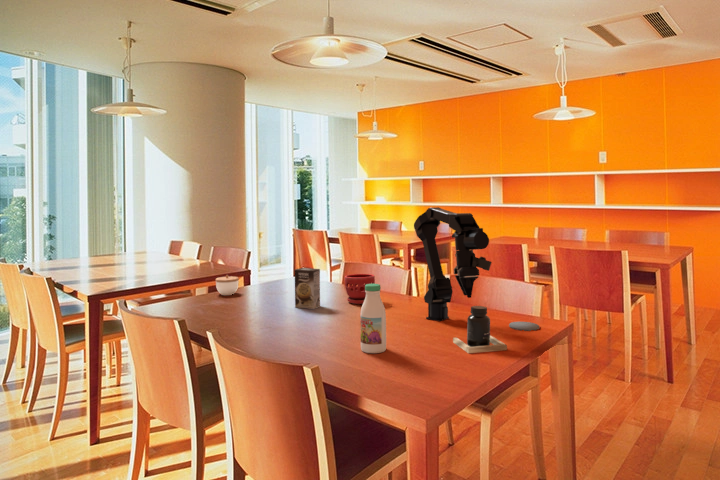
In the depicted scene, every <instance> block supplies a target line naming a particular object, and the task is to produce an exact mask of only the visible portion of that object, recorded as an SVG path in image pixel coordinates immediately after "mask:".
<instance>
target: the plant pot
mask: <svg viewBox="0 0 720 480" xmlns="http://www.w3.org/2000/svg"><path fill="white" fill-rule="evenodd" d="M375 280H376V279H375V275H374V274H370V273H354V274H347V275H345V276H344V287H345V288H344V289H345V292H346V294H347V296H348V297H347V299H346V300H347V302H348V303H350V304H353V305H354V304H355V305H363V303H364V300H365V297H366V292H365V285H366V284H376V281H375Z"/></svg>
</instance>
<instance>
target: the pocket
mask: <svg viewBox="0 0 720 480" xmlns="http://www.w3.org/2000/svg"><path fill="white" fill-rule="evenodd" d="M452 343H453V344H454V345H456V346H458V347H459V349H462V350H463V351H464V352H466V353H467V354H479V353H488V352H499V351H508V345H507V344H505V343H504V342H503V341H501V340H500V339H498V338H496V337H495V336H492V335H491V334H490V345H486V346H475V347H470V346H468V344H467V342H466V343H465V342H464V341H463V340H461V339H460V338H458V337H452Z"/></svg>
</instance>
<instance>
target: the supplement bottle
mask: <svg viewBox="0 0 720 480" xmlns="http://www.w3.org/2000/svg"><path fill="white" fill-rule="evenodd" d="M487 314H488V307H486V306H483V305H473V306H470V314H469V315H468V316H467V321H466V323H467V327H466V331H467V332H466V344H467V345H468V346H470V347H475V346H486V345H491V342H490V335H491V319H490V317H489V316H488V315H487Z"/></svg>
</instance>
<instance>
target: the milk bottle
mask: <svg viewBox="0 0 720 480" xmlns="http://www.w3.org/2000/svg"><path fill="white" fill-rule="evenodd" d="M364 285H365V284H364ZM381 287H382V286H381V284H379V283H375V284H372V283H371V284H366V285H365V292H366V297H365V300H364V303H363V304H361V305H362V306H361V308H360V316H359V317H360V329H359V330H360V350H361V351H362V352H363V353H366V354H380V353H384V352H385V351H386V349H387V317H386V316H387V315H386V313H387V312H386V308H385V305H384V302H383V301H382V298H381V289H382V288H381Z"/></svg>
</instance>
